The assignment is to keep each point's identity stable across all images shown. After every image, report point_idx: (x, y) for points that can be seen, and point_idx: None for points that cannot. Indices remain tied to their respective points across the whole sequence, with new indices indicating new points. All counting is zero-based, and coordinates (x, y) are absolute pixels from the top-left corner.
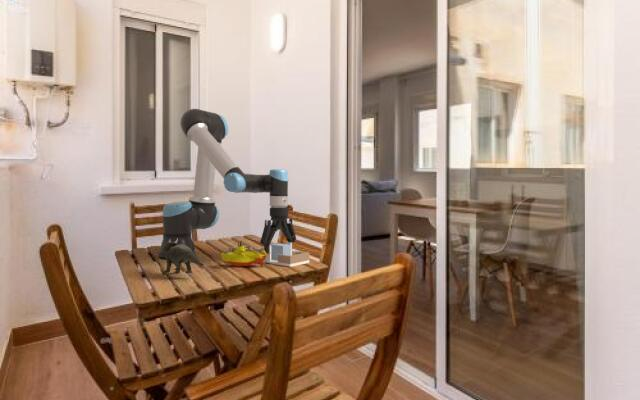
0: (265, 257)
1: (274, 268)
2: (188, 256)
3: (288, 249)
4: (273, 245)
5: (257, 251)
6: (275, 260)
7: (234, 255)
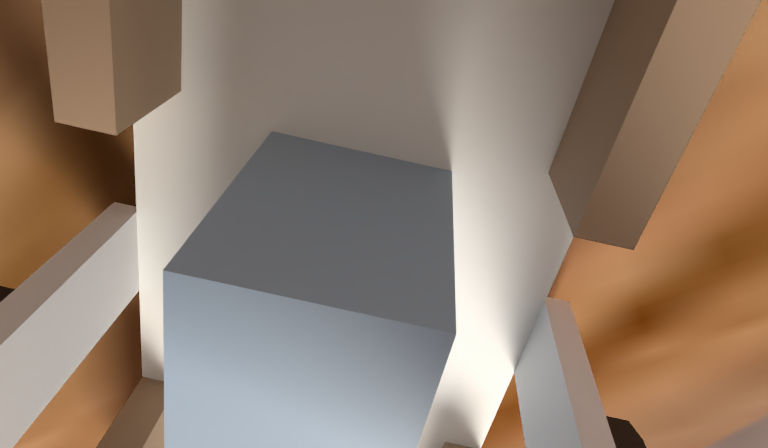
0: (82, 234)
1: None
2: None
3: None
4: (170, 417)
5: (68, 3)
6: None
7: None
